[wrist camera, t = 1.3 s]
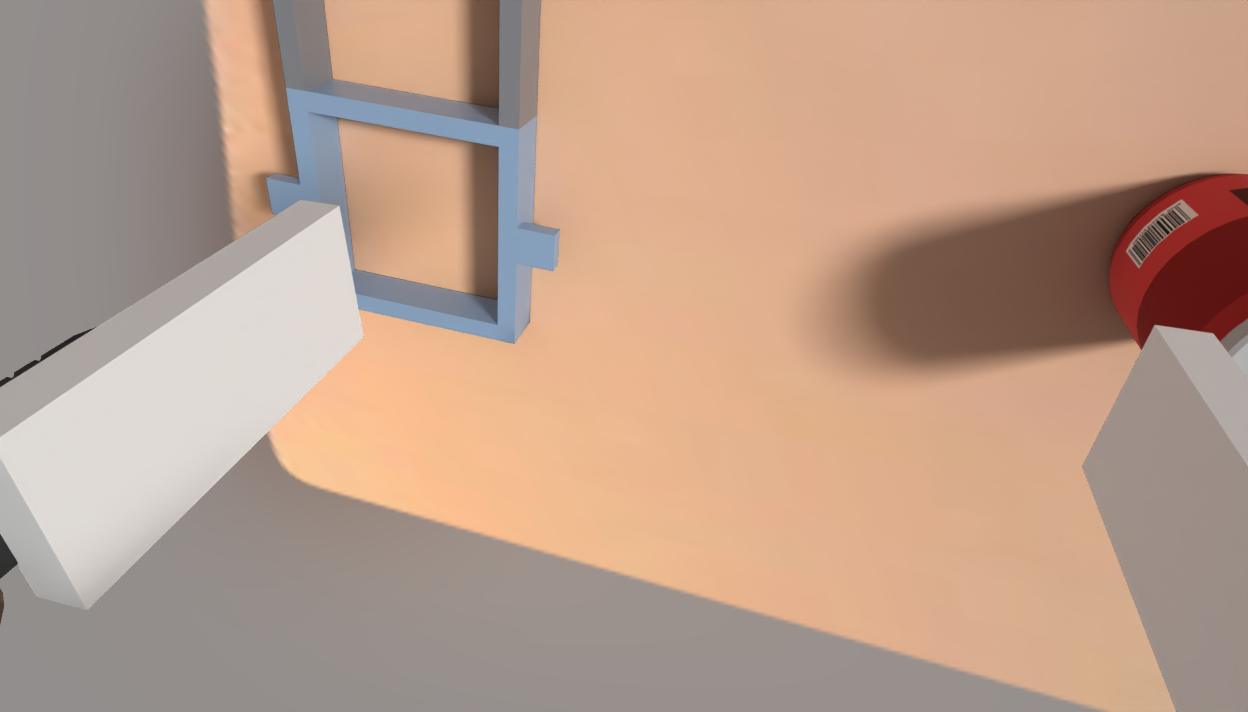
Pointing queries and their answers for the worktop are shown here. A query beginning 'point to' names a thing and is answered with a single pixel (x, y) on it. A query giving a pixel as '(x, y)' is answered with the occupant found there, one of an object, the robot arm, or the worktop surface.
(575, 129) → the worktop surface
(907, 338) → the worktop surface
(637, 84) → the worktop surface
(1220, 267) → the canned food
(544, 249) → the divided frame
